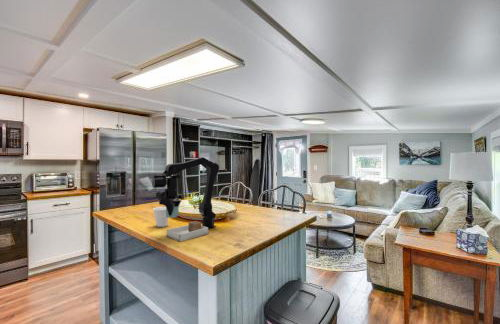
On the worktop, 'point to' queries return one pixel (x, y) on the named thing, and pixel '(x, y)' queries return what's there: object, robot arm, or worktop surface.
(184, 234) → the tray
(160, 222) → the cup
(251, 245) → the worktop surface
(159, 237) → the worktop surface
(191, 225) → the walnut block
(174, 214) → the teal block
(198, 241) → the worktop surface
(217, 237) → the worktop surface
